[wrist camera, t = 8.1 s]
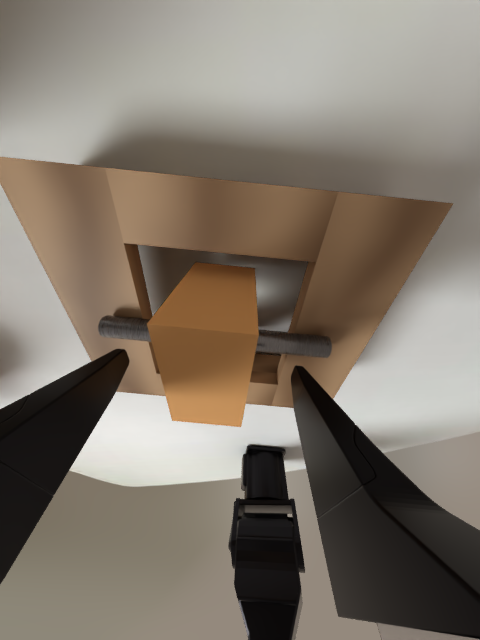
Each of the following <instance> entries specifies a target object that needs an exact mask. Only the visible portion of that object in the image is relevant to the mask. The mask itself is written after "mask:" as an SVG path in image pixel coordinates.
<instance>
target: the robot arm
mask: <svg viewBox="0 0 480 640" xmlns="http://www.w3.org/2000/svg"><path fill="white" fill-rule="evenodd" d="M129 362H130V360H129V357H128V354H127V351H126V350H125V349H115V350H113V351H111V352H109V353H107V354H105V355H103V356H101V357H99V358H98V359H96V360H94V361H92V362H90V363H88V364H86V365H84V366H82V367H80V368H79V369H77V370H75V371H73V372H71V373H69V374H67V375H65V376H63V377H61V378H59V379H58V380H56V381H54V382H52V383H50V384H48V385H46V386H44V387H42V388H40V389H38V390H37V391H35V392H33V393H31V394H30V395H27V396H25V397H23V398H21V399H19V400H17V401H16V402H14V403H12V404H10V405H8V406H6V407H4V408H2V409H0V584H1V582H2V581H3V579H4V578H5V576H6V574H7V573H8V571H9V570H10V568H11V566H12V564H13V563H14V561H15V560H16V558H17V556H18V555H19V553H20V551H21V550H22V548H23V546H24V545H25V543H26V541H27V540H28V538H29V536H30V535H31V533H32V531H33V530H34V528H35V526H36V524H37V523H38V521H39V520H40V518H41V516H42V515H43V513H44V511H45V510H46V508H47V506H48V504H49V503H50V501H51V500H52V498H53V495H54V494H55V493H56V491H57V489H58V488H59V486H60V484H61V483H62V481H63V479H64V478H65V476H66V474H67V473H68V471H69V469H70V468H71V466H72V464H73V463H74V461H75V459H76V458H77V456H78V454H79V453H80V451H81V449H82V448H83V446H84V444H85V443H86V441H87V439H88V438H89V436H90V434H91V433H92V431H93V429H94V428H95V426H96V424H97V423H98V421H99V419H100V418H101V416H102V414H103V413H104V411H105V409H106V408H107V406H108V404H109V403H110V401H111V399H112V398H113V396H114V394H115V393H116V391H117V389H118V387H119V385H120V383H121V381H122V378H123V376H124V374H125V372H126V370H127V368H128V366H129ZM291 387H292V397H293V406H294V412H295V417H296V422H297V426H298V431H299V436H300V440H301V445H302V450H303V454H304V459H305V464H306V468H307V473H308V478H309V482H310V487H311V491H312V496H313V501H314V506H315V511H316V515H317V518H318V519H317V520H318V525H319V530H320V534H321V539H322V544H323V548H324V553H325V558H326V563H327V567H328V572H329V577H330V581H331V585H332V591H333V595H334V600H335V605H336V609H337V613H338V616H339V617H343V618H350V619H356V620H362V621H368V622H375V623H377V626H378V630H379V633H380V636H381V640H480V530H478V529H476V528H475V527H473V526H471V525H469V524H468V523H466V522H464V521H463V520H461V519H459V518H458V517H456V516H454V515H452V514H451V513H449V512H448V511H446V510H445V509H443V508H442V507H440V506H439V505H438V504H436V503H435V502H434V501H432V500H431V499H430V498H429V497H428V496H427V495H425V494H424V493H423V492H422V491H421V490H420V489H419V488H418V487H417V486H416V485H415V484H414V483H413V482H412V481H411V480H410V479H409V478H408V477H407V476H406V475H405V474H404V473H402V471H401V470H400V469H399V468H397V467H396V466H395V465H394V464H393V463H392V462H391V461H390V460H389V459H388V458H387V457H386V456H385V455H384V454H383V453H382V452H381V451H380V450H379V449H378V448H377V447H376V446H375V445H374V444H373V443H372V442H371V441H370V439H369V438H368V437H367V436H366V435H365V434H364V433H363V432H362V431H361V430H360V429H359V428H358V426H357V425H355V423H354V422H353V421H352V420H351V419H350V418H349V417H348V415H347V414H346V413H345V412H344V411H343V410H342V409H341V408H340V407H339V405H338V404H337V403H336V402H335V401H334V400H333V399H332V398H331V397H330V395H329V394H328V393H327V392H326V391H325V390H324V389H323V388H322V387H321V385H320V384H319V383H318V382H317V381H316V380H315V379H314V378H313V377H312V376H311V374H310V373H309V372H308V371H307V370H306V369H305V368H304V367H303V366H297V365H296V366H295V367H294V369H293V372H292V374H291ZM284 455H285V449H279V448H268V447H257V446H247V449H246V453H245V454H244V455H243V458H242V475H241V489H242V490H243V491H245V499H240V498H236V501H235V502H234V513H233V522H232V528H231V533H230V539H229V550H230V552H231V557H232V566H233V568H234V569H235V580H234V585H235V590H236V593H237V598H238V601H239V605H240V609H241V612H242V616H243V620H244V624H245V627H246V631H247V635H248V640H295V638H296V633H297V628H298V623H299V618H300V613H301V608H302V593H301V585H300V577H299V572H301V573H305V567H304V559H303V552H302V546H301V540H300V534H299V527H298V521H297V514H296V508H295V501H294V499H290V500H289V499H288V491H287V484H286V476H285V468H284V461H283V457H284ZM287 514H292V516H293V517H287Z"/></svg>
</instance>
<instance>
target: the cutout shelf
mask: <svg viewBox="0 0 480 640" xmlns="http://www.w3.org/2000/svg"><path fill="white" fill-rule="evenodd" d="M0 184H1V186H2V188H3V189H4V191H5V193H6V195H7V197H8V199H9V201H10V203H11V205H12V207H13V209H14V211H15V213H16V215H17V217H18V219H19V221H20V223H21V225H22V226H23V228H24V230H25V232H26V234H27V236H28V238H29V240H30V242H31V244H32V246H33V248H34V250H35V252H36V254H37V256H38V258H39V260H40V262H41V264H42V265H43V267H44V269H45V271H46V273H47V275H48V277H49V279H50V281H51V283H52V285H53V287H54V289H55V291H56V293H57V295H58V297H59V299H60V301H61V303H62V304H63V306H64V308H65V310H66V312H67V314H68V316H69V318H70V320H71V322H72V324H73V326H74V328H75V330H76V332H77V334H78V336H79V338H80V340H81V341H82V343H83V345H84V347H85V349H86V351H87V353H88V355H89V357H90V359H91V361H94V360H96V359H98V358H99V357H101V356H103V355H105V354H107V353H109V352H111V351H113V350H115V349H125V350H126V351H127V354H128V357H129V360H130V362H129V366H128V368H127V370H126V372H125V374H124V376H123V378H122V381H121V383H120V385H119V387H118V389H117V391H116V392H127V393H137V394H148V395H159V396H166V395H165V391H164V387H163V384H162V380H161V376H160V372H159V368H158V365H157V361H156V357H155V353H154V349H153V346H152V342H151V338H150V334H149V330H148V327H147V323H148V322H149V321H150V319H151V318H152V312H151V307H150V302H149V298H148V293H147V288H146V284H145V279H144V274H143V270H142V265H141V260H140V255H139V251H138V246H137V244H138V245H148V246H158V247H168V248H178V249H188V250H198V251H208V252H218V253H229V254H239V255H249V256H259V257H269V258H279V259H289V260H299V261H309V262H308V265H307V268H306V272H305V275H304V279H303V282H302V286H301V289H300V293H299V296H298V300H297V303H296V307H295V310H294V313H293V317H292V320H291V324H290V327H289V331H288V332H277V331H267V330H258V331H259V336H258V341H257V346H256V352H264V353H275V354H282V355H281V356H275V355H265V354H255V357H254V362H253V367H252V372H251V378H250V383H249V388H248V393H247V398H246V404H257V405H268V406H279V407H289V408H294V406H293V397H292V387H291V374H292V372H293V369H294V367H295V366H296V365H297V366H303V367H304V368H305V369H306V370H307V371H308V372H309V373H310V374H311V376H312V377H313V378H314V379H315V380H316V381H317V382H318V383H319V384H320V385H321V387H322V388H323V389H324V390H325V391H326V392H327V393H328V394H329V395H330V397H331V398H332V399H333V398H334V397H335V395H336V393H337V392H338V390H339V388H340V387H341V385H342V384H343V382H344V380H345V379H346V377H347V375H348V374H349V372H350V371H351V369H352V367H353V366H354V364H355V362H356V361H357V359H358V358H359V356H360V354H361V353H362V351H363V349H364V348H365V346H366V345H367V343H368V341H369V340H370V338H371V337H372V335H373V333H374V332H375V330H376V328H377V327H378V325H379V324H380V322H381V320H382V319H383V317H384V315H385V314H386V312H387V311H388V309H389V307H390V306H391V304H392V302H393V301H394V299H395V298H396V296H397V294H398V293H399V291H400V289H401V288H402V286H403V285H404V283H405V281H406V280H407V278H408V276H409V275H410V273H411V272H412V270H413V268H414V267H415V265H416V263H417V262H418V260H419V259H420V257H421V255H422V254H423V252H424V250H425V249H426V247H427V246H428V244H429V242H430V241H431V239H432V237H433V236H434V234H435V233H436V231H437V229H438V228H439V226H440V224H441V223H442V221H443V220H444V218H445V216H446V215H447V213H448V211H449V210H450V208H451V207H452V205H453V203H443V202H434V201H424V200H414V199H405V198H395V197H385V196H375V195H366V194H356V193H346V192H337V191H327V190H317V189H307V188H298V187H288V186H278V185H268V184H259V183H249V182H239V181H230V180H220V179H210V178H200V177H191V176H181V175H171V174H162V173H152V172H142V171H132V170H123V169H113V168H103V167H94V166H84V165H74V164H64V163H55V162H45V161H35V160H25V159H16V158H6V157H0Z"/></svg>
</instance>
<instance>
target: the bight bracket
mask: <svg viewBox="0 0 480 640" xmlns="http://www.w3.org/2000/svg"><path fill="white" fill-rule="evenodd" d="M147 327H148V330H149V334H150V338H151V342H152V346H153V349H154V353H155V357H156V361H157V365H158V368H159V372H160V376H161V380H162V384H163V387H164V391H165V395H166V399H167V403H168V406H169V410H170V414H171V418H172V421H182V422H193V423H204V424H215V425H226V426H237V427H241V424H242V419H243V414H244V409H245V403H246V398H247V393H248V388H249V383H250V378H251V372H252V367H253V362H254V357H255V352H256V346H257V341H258V336H259V331H258V314H257V297H256V280H255V268H248V267H238V266H229V265H219V264H209V263H199V262H195V264H194V265H193V266H192V267H191V269H190V270H189V271H188V272H187V274H186V275H185V276H184V277H183V279H182V280H181V281H180V283H179V284H178V285H177V286H176V288H175V289H174V290H173V291H172V293H171V294H170V295H169V296H168V298H167V299H166V300H165V302H164V303H163V304H162V305H161V307H160V308H159V309H158V310H157V312H156V313H155V314H154V315H153V317H152V318H151V319H150V321H149V322H148V323H147Z"/></svg>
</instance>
